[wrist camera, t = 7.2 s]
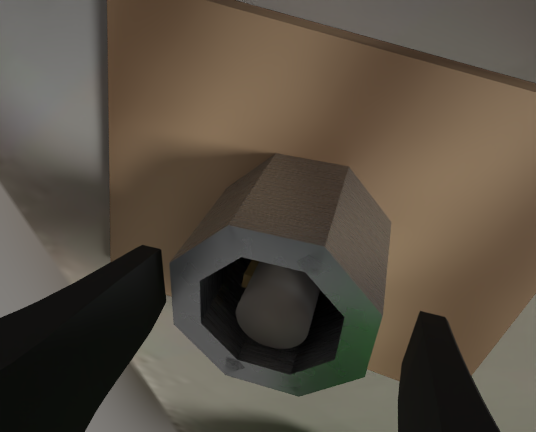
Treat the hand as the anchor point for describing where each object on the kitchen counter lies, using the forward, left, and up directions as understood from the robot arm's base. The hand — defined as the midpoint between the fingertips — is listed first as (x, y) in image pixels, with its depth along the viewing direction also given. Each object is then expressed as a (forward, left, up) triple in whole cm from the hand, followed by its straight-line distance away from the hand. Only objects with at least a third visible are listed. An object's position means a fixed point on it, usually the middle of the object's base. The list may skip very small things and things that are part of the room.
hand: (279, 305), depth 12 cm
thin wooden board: (0, 0, -4) cm, 4 cm away
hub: (0, 0, -3) cm, 3 cm away
